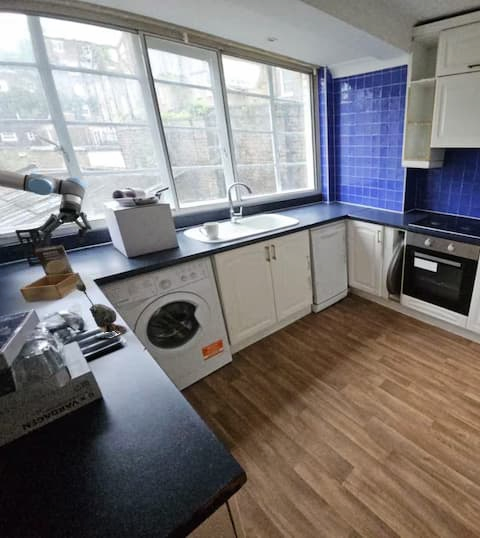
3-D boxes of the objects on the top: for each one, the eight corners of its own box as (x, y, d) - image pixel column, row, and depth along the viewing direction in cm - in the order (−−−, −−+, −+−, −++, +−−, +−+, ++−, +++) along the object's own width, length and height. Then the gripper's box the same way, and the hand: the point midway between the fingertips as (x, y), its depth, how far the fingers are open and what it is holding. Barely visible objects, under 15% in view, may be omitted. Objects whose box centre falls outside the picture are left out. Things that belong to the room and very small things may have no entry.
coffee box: (50, 285, 133) (33, 252, 126) (50, 281, 137) (34, 249, 131) (77, 279, 138) (62, 247, 132) (76, 275, 143) (62, 244, 136)
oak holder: (26, 302, 118) (19, 289, 116) (50, 287, 131) (45, 275, 128) (62, 298, 121) (56, 285, 118) (83, 284, 133) (78, 272, 131)
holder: (48, 258, 167) (35, 224, 159) (60, 259, 166) (47, 225, 158) (26, 265, 157) (10, 229, 149) (38, 267, 156) (23, 231, 148)
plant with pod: (98, 347, 89) (72, 289, 82) (93, 333, 97) (68, 278, 89) (130, 335, 95) (108, 279, 87) (123, 322, 102) (102, 270, 94)
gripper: (104, 208, 153) (98, 244, 145) (48, 212, 148) (38, 249, 140) (94, 199, 146) (87, 237, 138) (35, 203, 141) (24, 241, 134)
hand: (62, 243), depth 139 cm, fingers open, 13 cm apart
